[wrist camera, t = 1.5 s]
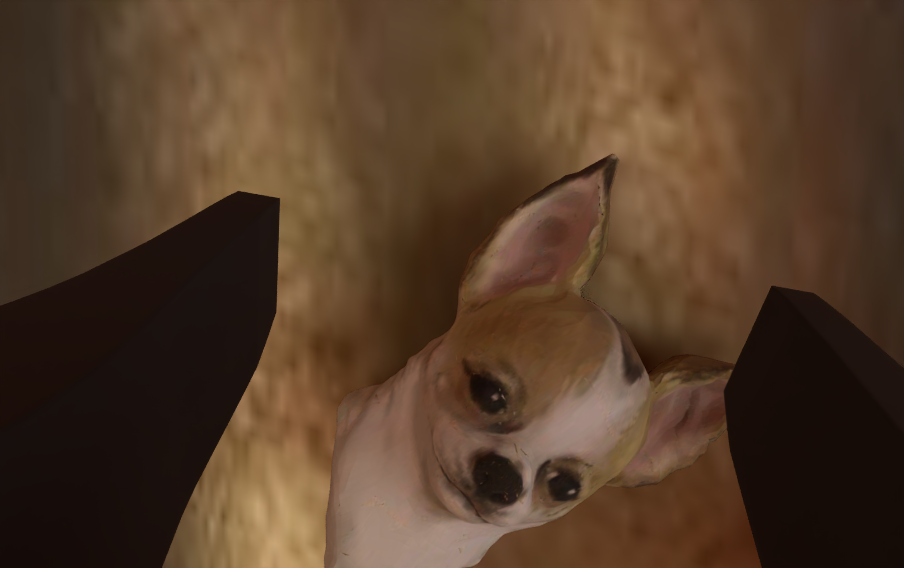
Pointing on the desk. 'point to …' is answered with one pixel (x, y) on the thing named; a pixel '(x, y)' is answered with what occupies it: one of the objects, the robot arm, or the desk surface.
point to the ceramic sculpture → (514, 401)
